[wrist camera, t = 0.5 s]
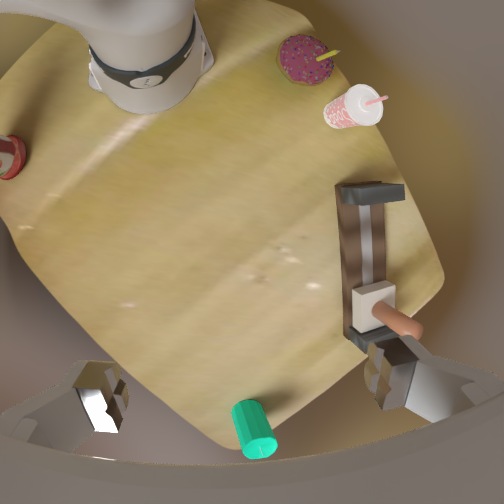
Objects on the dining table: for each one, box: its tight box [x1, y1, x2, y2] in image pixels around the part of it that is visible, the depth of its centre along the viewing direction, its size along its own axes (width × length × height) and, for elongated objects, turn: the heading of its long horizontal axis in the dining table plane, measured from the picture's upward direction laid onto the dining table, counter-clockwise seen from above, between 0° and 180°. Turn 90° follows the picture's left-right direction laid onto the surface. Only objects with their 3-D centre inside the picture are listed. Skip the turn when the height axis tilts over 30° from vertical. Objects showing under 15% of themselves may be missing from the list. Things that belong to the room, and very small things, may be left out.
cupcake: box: [276, 34, 341, 86], centre depth 37 cm, size 9×8×12 cm
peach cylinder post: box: [352, 280, 423, 341], centre depth 46 cm, size 7×7×13 cm
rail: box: [335, 181, 405, 354], centre depth 49 cm, size 27×8×8 cm, turn 8°
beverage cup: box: [324, 84, 388, 128], centre depth 40 cm, size 6×6×14 cm
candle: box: [231, 400, 278, 459], centre depth 48 cm, size 6×6×12 cm
